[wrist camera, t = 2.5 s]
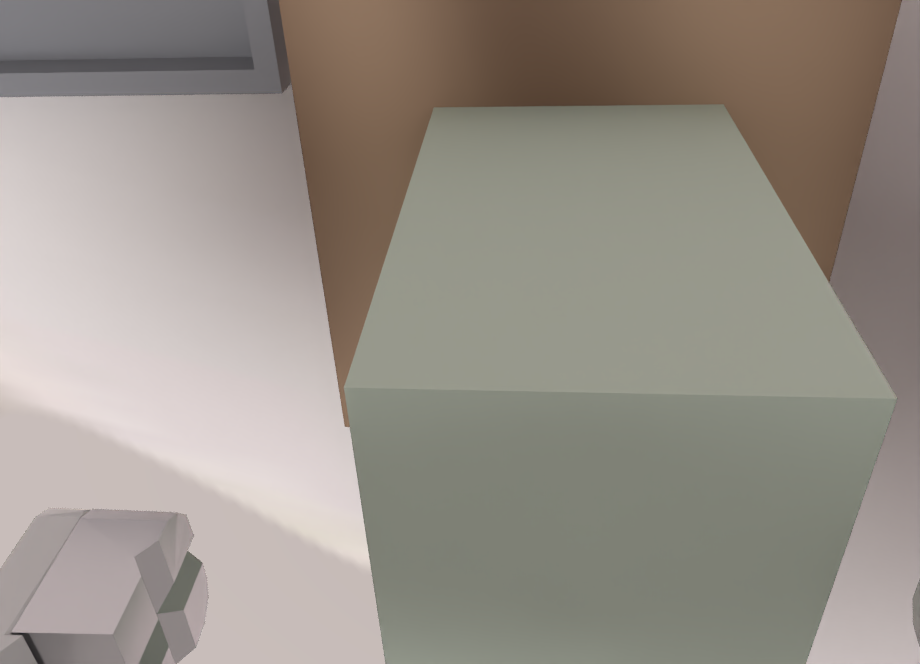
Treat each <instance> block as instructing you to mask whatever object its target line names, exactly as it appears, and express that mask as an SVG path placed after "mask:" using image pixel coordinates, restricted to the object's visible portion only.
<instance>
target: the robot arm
mask: <svg viewBox="0 0 920 664" xmlns="http://www.w3.org/2000/svg"><path fill="white" fill-rule="evenodd" d="M193 537H194V534H193V531H192V529H191V526H190V524H189V520H188V518H187V515H185V514H181V513H177V512H155V511H131V510H106V509H92V510H91V509H65V508H48V509H47V510H45V511H44V512H42V513H41V514H39V515H38V516H36V517H35V518H34V520H33V521H32V523H31V524H30V526H29V527H28V529H27V530H26V531H25V533H24V534H23V536H22V537H21V539H20V540H19V542H18V543H17V545H16V546H15V548H14V549H13V551H12V552H11V554H10V555H9V557H8V558H7V560H6V561H5V563H4V564H3V566H2V567H1V568H0V664H177V663H178V662H179V661H180V660H182V659H183V658H184V657H185V656H186V655H187V654H189V653H190V652H191V651H192V650H193V649H194V648H196V646H197V643H198V641H199V638H200V635H201V632H202V629H203V626H204V623H205V617H206V610H207V603H208V584H207V576H206V573H205V569H204V566H203V563H202V562H201V561H200V560H198V559H197V558H196V557H195V556H193V555H192V554H191V553H190V552H188V548H189V546H190V544H191V542H192V539H193ZM913 625H914V629H915V632H916V636H917V640H918V643H919V646H920V580H919V583H918V585H917V588H916V591H915V594H914V597H913Z"/></svg>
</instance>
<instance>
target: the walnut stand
mask: <svg viewBox="0 0 920 664" xmlns="http://www.w3.org/2000/svg"><path fill="white" fill-rule="evenodd" d="M901 2H902V0H279V6H280V13H281V19H282V25H283V32H284V38H285V45H286V51H287V58H288V64H289V70H290V77H291V83H292V90H293V96H294V103H295V109H296V115H297V122H298V128H299V135H300V141H301V148H302V154H303V160H304V167H305V173H306V180H307V186H308V193H309V199H310V206H311V212H312V218H313V225H314V231H315V238H316V244H317V251H318V257H319V263H320V270H321V276H322V283H323V289H324V296H325V302H326V308H327V315H328V321H329V328H330V334H331V341H332V347H333V353H334V360H335V366H336V373H337V379H338V386H339V392H340V399H341V405H342V411H343V418H344V424H345V427H350V425H349V418H348V412H347V405H346V398H345V392H344V386H345V383H346V379H347V376H348V373H349V370H350V367H351V364H352V361H353V358H354V355H355V351H356V348H357V345H358V342H359V339H360V336H361V333H362V330H363V327H364V323H365V320H366V317H367V314H368V311H369V308H370V305H371V302H372V298H373V295H374V292H375V289H376V286H377V283H378V280H379V277H380V274H381V270H382V267H383V264H384V261H385V258H386V255H387V252H388V249H389V246H390V242H391V239H392V236H393V233H394V230H395V227H396V224H397V221H398V218H399V214H400V211H401V208H402V205H403V202H404V199H405V196H406V193H407V189H408V186H409V183H410V180H411V177H412V174H413V171H414V168H415V165H416V161H417V158H418V155H419V152H420V149H421V146H422V143H423V140H424V137H425V133H426V130H427V127H428V124H429V121H430V118H431V115H432V112H433V108H434V107H524V106H617V105H709V104H724V106H725V108H726V109H727V111H728V113H729V114H730V116H731V118H732V119H733V121H734V123H735V124H736V126H737V128H738V130H739V131H740V133H741V135H742V136H743V138H744V140H745V141H746V143H747V145H748V146H749V148H750V150H751V152H752V153H753V155H754V157H755V158H756V160H757V162H758V163H759V165H760V167H761V168H762V170H763V172H764V174H765V175H766V177H767V179H768V180H769V182H770V184H771V185H772V187H773V189H774V190H775V192H776V194H777V196H778V197H779V199H780V201H781V202H782V204H783V206H784V207H785V209H786V211H787V212H788V214H789V216H790V218H791V219H792V221H793V223H794V224H795V226H796V228H797V229H798V231H799V233H800V234H801V236H802V238H803V240H804V241H805V243H806V245H807V246H808V248H809V250H810V251H811V253H812V255H813V256H814V258H815V260H816V262H817V263H818V265H819V267H820V268H821V270H822V272H823V273H824V275H825V277H826V278H827V280H828V282H829V281H830V277H831V273H832V269H833V265H834V262H835V258H836V254H837V250H838V246H839V242H840V238H841V234H842V230H843V227H844V223H845V219H846V215H847V211H848V207H849V203H850V199H851V196H852V192H853V188H854V184H855V180H856V176H857V172H858V168H859V165H860V161H861V157H862V153H863V149H864V145H865V141H866V137H867V134H868V130H869V126H870V122H871V118H872V114H873V110H874V106H875V102H876V99H877V95H878V91H879V87H880V83H881V79H882V75H883V71H884V68H885V64H886V60H887V56H888V52H889V48H890V44H891V40H892V37H893V33H894V29H895V25H896V21H897V17H898V13H899V9H900V5H901Z"/></svg>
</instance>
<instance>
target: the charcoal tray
mask: <svg viewBox="0 0 920 664" xmlns="http://www.w3.org/2000/svg"><path fill="white" fill-rule="evenodd" d="M290 83H291V77H290V70H289V64H288V58H287V51H286V45H285V38H284V32H283V25H282V19H281V13H280V6H279V0H0V97H35V96H115V95H195V94H275V93H283V92H284V91H285V89H286V88H287V87H288V86H289V85H290Z"/></svg>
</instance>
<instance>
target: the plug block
mask: <svg viewBox="0 0 920 664" xmlns="http://www.w3.org/2000/svg"><path fill="white" fill-rule="evenodd" d="M344 392H345V398H346V405H347V412H348V418H349V425H350V432H351V438H352V445H353V451H354V458H355V465H356V471H357V478H358V485H359V491H360V498H361V505H362V511H363V518H364V524H365V531H366V538H367V544H368V551H369V558H370V564H371V571H372V577H373V584H374V591H375V597H376V603H377V611H378V617H379V623H380V630H381V637H382V644H383V650H384V656H385V664H806V662H807V659H808V656H809V653H810V650H811V647H812V644H813V641H814V638H815V636H816V633H817V630H818V627H819V624H820V621H821V618H822V615H823V612H824V610H825V607H826V604H827V601H828V598H829V595H830V592H831V589H832V586H833V584H834V581H835V578H836V575H837V572H838V569H839V566H840V563H841V560H842V558H843V555H844V552H845V549H846V546H847V543H848V540H849V537H850V535H851V532H852V529H853V526H854V523H855V520H856V517H857V514H858V511H859V509H860V506H861V503H862V500H863V497H864V494H865V491H866V488H867V485H868V483H869V480H870V477H871V474H872V471H873V468H874V465H875V462H876V459H877V457H878V454H879V451H880V448H881V445H882V442H883V439H884V436H885V433H886V431H887V428H888V425H889V422H890V419H891V416H892V413H893V410H894V407H895V405H896V402H897V397H896V395H895V394H894V392H893V390H892V388H891V387H890V385H889V383H888V382H887V380H886V378H885V377H884V375H883V373H882V372H881V370H880V368H879V366H878V365H877V363H876V361H875V360H874V358H873V356H872V355H871V353H870V351H869V350H868V348H867V346H866V344H865V343H864V341H863V339H862V338H861V336H860V334H859V333H858V331H857V329H856V328H855V326H854V324H853V322H852V321H851V319H850V317H849V316H848V314H847V312H846V311H845V309H844V307H843V306H842V304H841V302H840V300H839V299H838V297H837V295H836V294H835V292H834V290H833V289H832V287H831V285H830V284H829V282H828V280H827V278H826V277H825V275H824V273H823V272H822V270H821V268H820V267H819V265H818V263H817V262H816V260H815V258H814V256H813V255H812V253H811V251H810V250H809V248H808V246H807V245H806V243H805V241H804V240H803V238H802V236H801V234H800V233H799V231H798V229H797V228H796V226H795V224H794V223H793V221H792V219H791V218H790V216H789V214H788V212H787V211H786V209H785V207H784V206H783V204H782V202H781V201H780V199H779V197H778V196H777V194H776V192H775V190H774V189H773V187H772V185H771V184H770V182H769V180H768V179H767V177H766V175H765V174H764V172H763V170H762V168H761V167H760V165H759V163H758V162H757V160H756V158H755V157H754V155H753V153H752V152H751V150H750V148H749V146H748V145H747V143H746V141H745V140H744V138H743V136H742V135H741V133H740V131H739V130H738V128H737V126H736V124H735V123H734V121H733V119H732V118H731V116H730V114H729V113H728V111H727V109H726V108H725V106H724V104H709V105H617V106H524V107H434V108H433V112H432V115H431V118H430V121H429V124H428V127H427V130H426V133H425V137H424V140H423V143H422V146H421V149H420V152H419V155H418V158H417V161H416V165H415V168H414V171H413V174H412V177H411V180H410V183H409V186H408V189H407V193H406V196H405V199H404V202H403V205H402V208H401V211H400V214H399V218H398V221H397V224H396V227H395V230H394V233H393V236H392V239H391V242H390V246H389V249H388V252H387V255H386V258H385V261H384V264H383V267H382V270H381V274H380V277H379V280H378V283H377V286H376V289H375V292H374V295H373V298H372V302H371V305H370V308H369V311H368V314H367V317H366V320H365V323H364V327H363V330H362V333H361V336H360V339H359V342H358V345H357V348H356V351H355V355H354V358H353V361H352V364H351V367H350V370H349V373H348V376H347V379H346V383H345V386H344Z"/></svg>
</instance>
